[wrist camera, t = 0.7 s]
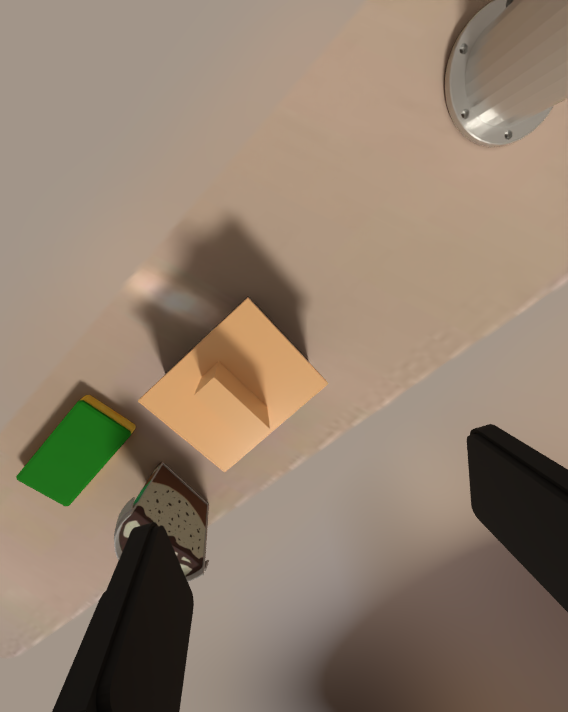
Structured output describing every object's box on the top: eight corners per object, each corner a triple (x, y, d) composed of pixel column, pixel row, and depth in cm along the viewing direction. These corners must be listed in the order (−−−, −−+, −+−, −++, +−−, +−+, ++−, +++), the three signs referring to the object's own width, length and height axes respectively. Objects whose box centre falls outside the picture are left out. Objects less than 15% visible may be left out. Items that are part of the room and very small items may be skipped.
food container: (119, 480, 43) (82, 543, 33) (154, 454, 42) (126, 511, 33) (182, 533, 46) (165, 605, 37) (215, 510, 46) (206, 576, 36)
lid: (248, 295, 32) (247, 304, 25) (324, 377, 35) (339, 402, 29) (144, 393, 33) (120, 423, 27) (225, 461, 37) (221, 502, 31)
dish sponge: (27, 466, 41) (13, 479, 39) (89, 391, 39) (78, 399, 37) (76, 494, 43) (66, 508, 41) (138, 424, 41) (131, 434, 39)
